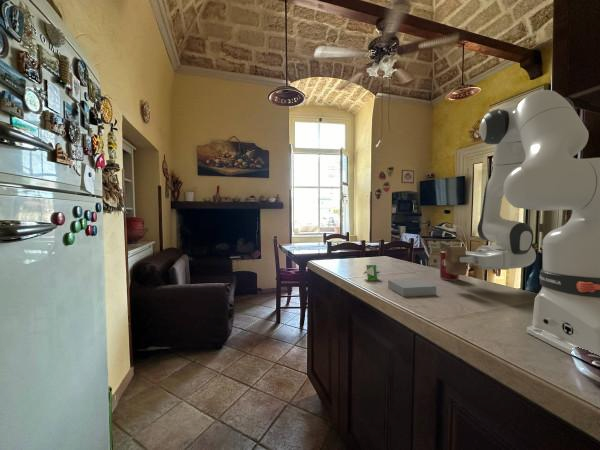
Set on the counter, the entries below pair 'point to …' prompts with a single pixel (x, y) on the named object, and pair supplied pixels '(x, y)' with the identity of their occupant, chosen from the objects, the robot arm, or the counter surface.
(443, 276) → the soda can
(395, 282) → the slab
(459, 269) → the pillar
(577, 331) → the robot arm
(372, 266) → the geometric puzzle
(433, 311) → the counter surface
